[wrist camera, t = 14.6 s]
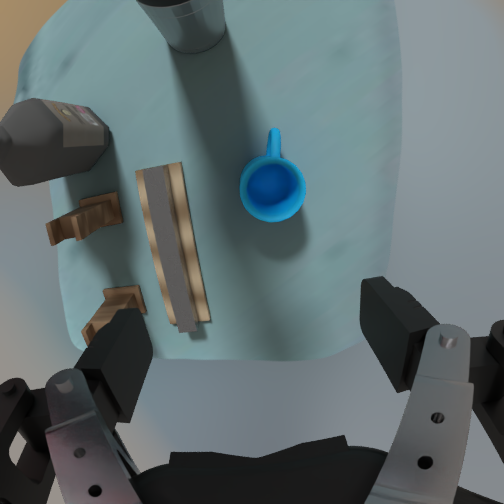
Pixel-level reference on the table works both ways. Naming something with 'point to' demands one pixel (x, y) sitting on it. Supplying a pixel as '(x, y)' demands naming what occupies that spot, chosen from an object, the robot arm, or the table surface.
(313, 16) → the table surface
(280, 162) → the mug
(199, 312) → the mat
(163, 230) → the rail
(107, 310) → the post
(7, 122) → the liquor
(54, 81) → the table surface
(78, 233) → the post
